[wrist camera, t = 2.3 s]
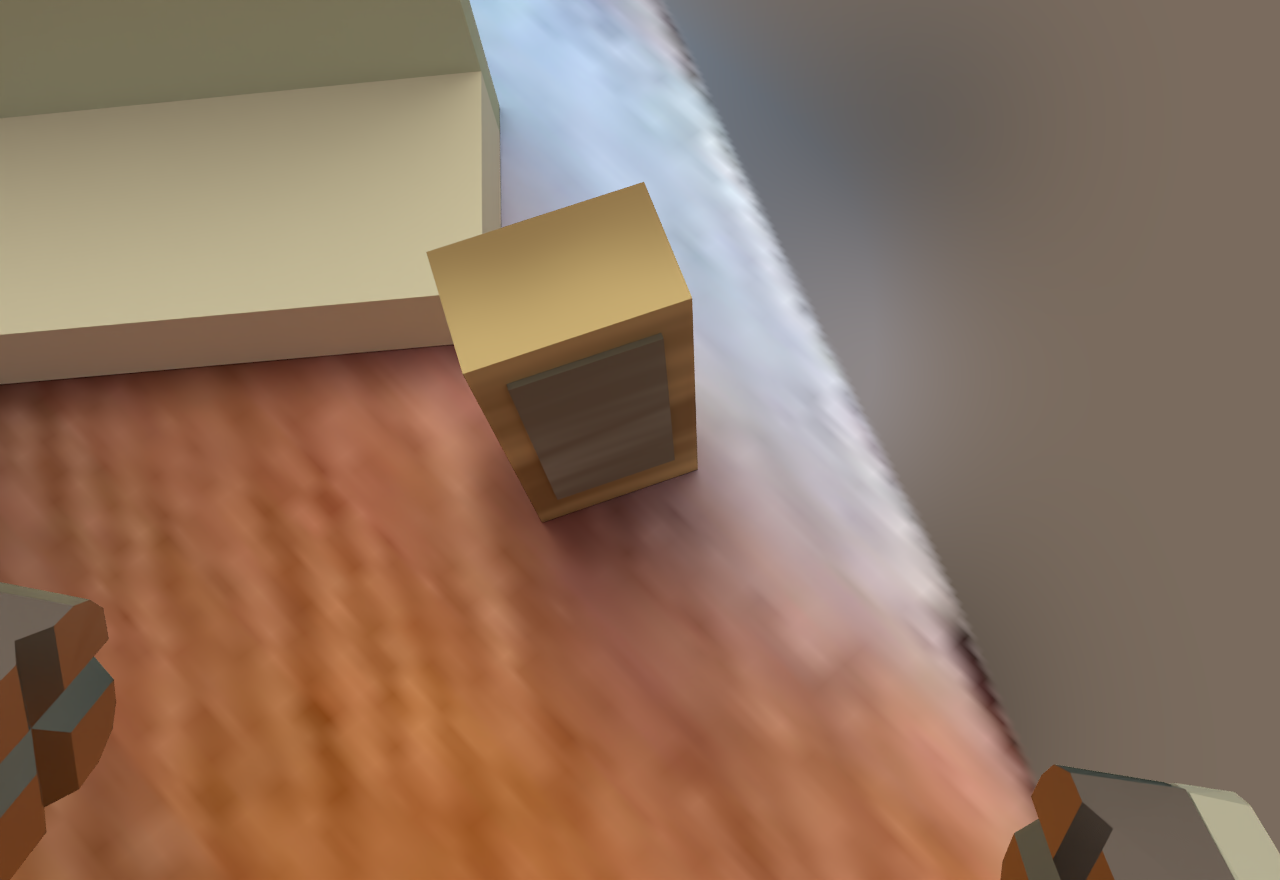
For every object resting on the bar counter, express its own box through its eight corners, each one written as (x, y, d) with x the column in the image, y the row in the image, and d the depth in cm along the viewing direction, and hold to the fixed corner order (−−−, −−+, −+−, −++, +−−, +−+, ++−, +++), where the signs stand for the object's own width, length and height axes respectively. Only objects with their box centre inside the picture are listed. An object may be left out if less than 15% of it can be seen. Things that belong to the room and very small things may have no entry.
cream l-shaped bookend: (502, 339, 31) (315, -112, 16) (-115, 394, 32) (-835, 8, 17) (499, 105, 35) (341, -444, 20) (-59, 159, 35) (-615, -332, 20)
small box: (699, 473, 29) (694, 304, 20) (543, 527, 29) (464, 380, 20) (663, 382, 30) (643, 182, 21) (514, 433, 30) (426, 251, 21)
